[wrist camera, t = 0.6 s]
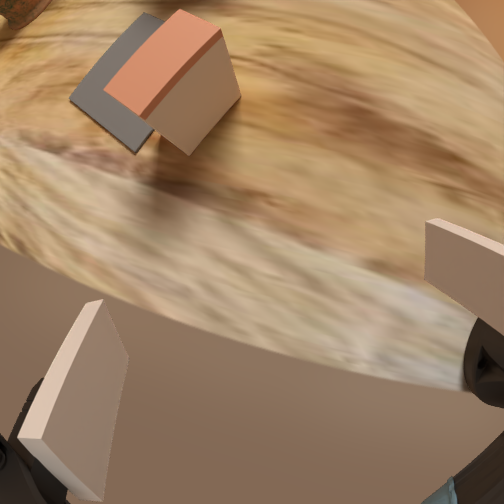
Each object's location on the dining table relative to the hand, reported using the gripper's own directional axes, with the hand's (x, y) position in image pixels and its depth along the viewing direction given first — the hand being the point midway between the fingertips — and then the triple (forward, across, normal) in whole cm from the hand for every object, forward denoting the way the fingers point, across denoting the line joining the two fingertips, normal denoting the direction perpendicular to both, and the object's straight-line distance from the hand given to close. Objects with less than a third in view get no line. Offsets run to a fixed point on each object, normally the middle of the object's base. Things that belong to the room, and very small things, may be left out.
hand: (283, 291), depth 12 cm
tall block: (+22, +1, -9) cm, 24 cm away
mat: (+26, +7, -16) cm, 31 cm away
